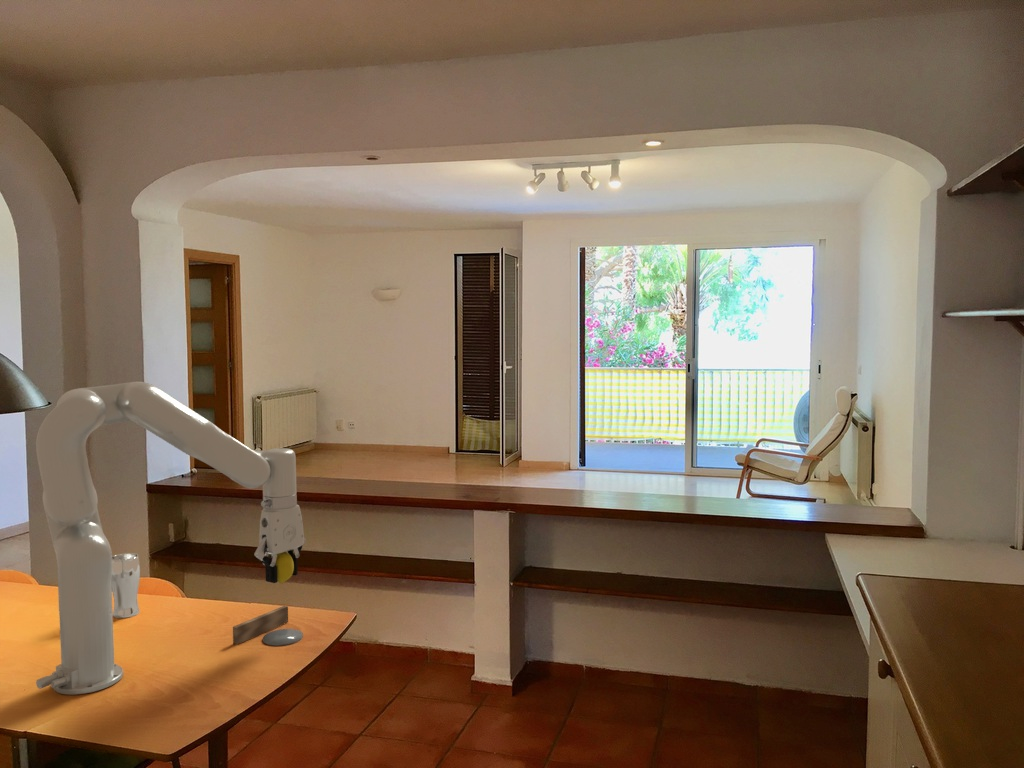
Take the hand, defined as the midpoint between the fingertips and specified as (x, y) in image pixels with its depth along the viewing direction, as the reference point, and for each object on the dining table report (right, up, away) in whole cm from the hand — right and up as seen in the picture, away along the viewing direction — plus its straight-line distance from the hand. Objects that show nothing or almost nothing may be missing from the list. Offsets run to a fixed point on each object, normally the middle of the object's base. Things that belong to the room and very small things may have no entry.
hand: (281, 577), depth 180 cm
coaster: (0, -15, +1) cm, 15 cm away
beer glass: (-45, -14, +17) cm, 50 cm away
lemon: (0, -2, 0) cm, 2 cm away
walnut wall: (-6, -14, +4) cm, 16 cm away
